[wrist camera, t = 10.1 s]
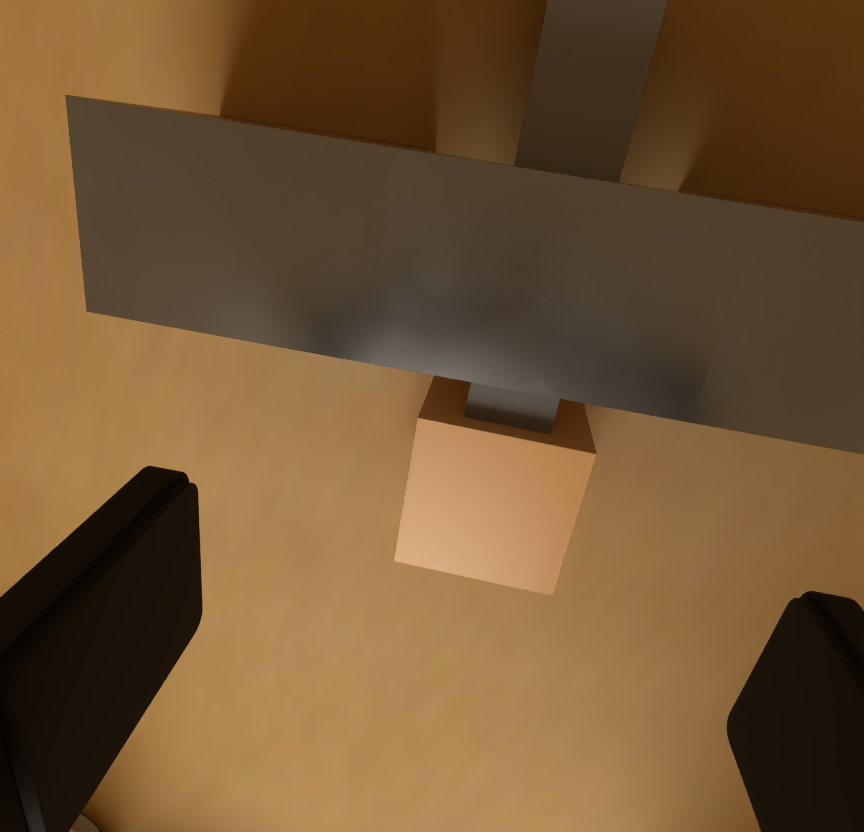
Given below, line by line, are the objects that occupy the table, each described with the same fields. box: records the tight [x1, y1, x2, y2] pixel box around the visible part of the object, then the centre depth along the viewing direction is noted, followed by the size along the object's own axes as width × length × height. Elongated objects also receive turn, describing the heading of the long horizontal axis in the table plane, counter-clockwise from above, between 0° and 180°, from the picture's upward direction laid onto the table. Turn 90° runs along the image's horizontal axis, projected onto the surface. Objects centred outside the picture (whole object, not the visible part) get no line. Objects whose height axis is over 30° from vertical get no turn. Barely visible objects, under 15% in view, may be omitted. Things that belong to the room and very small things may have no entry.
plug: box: [394, 0, 668, 596], centre depth 15 cm, size 14×4×4 cm, turn 171°
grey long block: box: [65, 95, 864, 454], centre depth 14 cm, size 4×18×6 cm, turn 82°
